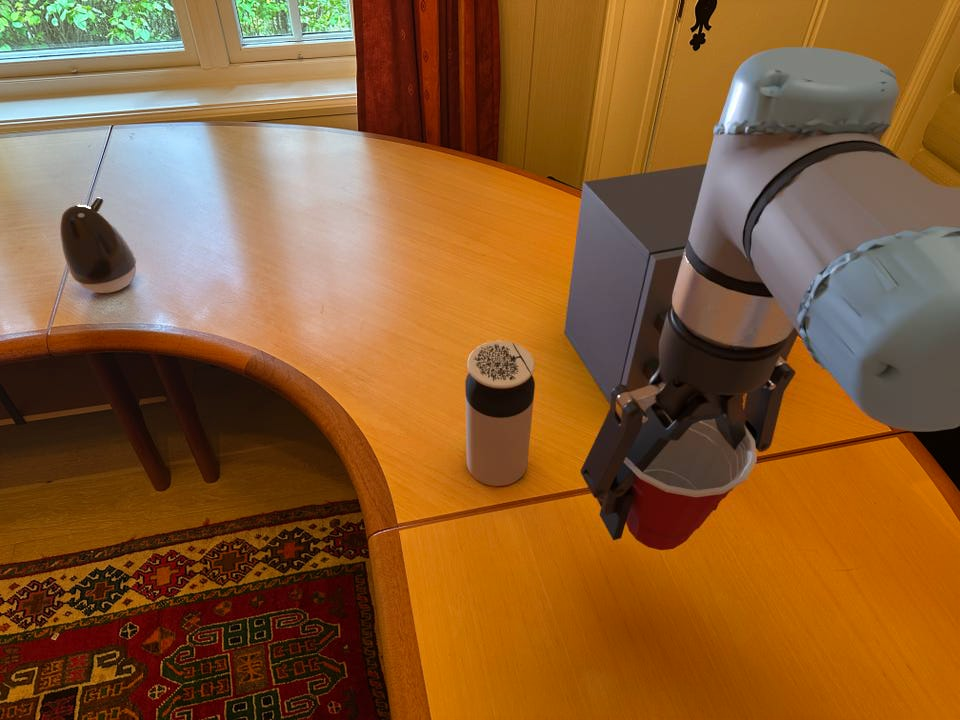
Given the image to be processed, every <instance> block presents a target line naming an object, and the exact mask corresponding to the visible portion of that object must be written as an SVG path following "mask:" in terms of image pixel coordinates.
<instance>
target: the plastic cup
mask: <svg viewBox="0 0 960 720" xmlns="http://www.w3.org/2000/svg"><path fill="white" fill-rule="evenodd" d="M664 413H665V412H664ZM665 414H666V413H665ZM666 416H667V414H666ZM667 417H668V416H667ZM668 418H669V417H668ZM669 420H670V421H671V422H672V423H673V421H672V420H671V419H670V418H669ZM744 427H745V431H746V435H745V436H744V438H743V440H742V441H741V442H740V444H739V445H738V446H737V448H736V449H735V450H734V449H733V448H732V447H731V446H730V444H729V443H728V442H727V441H726V440H725V438H724V437H723V436H722V434H721V433H720V432H719V430H718V429H717V425H716V422H715V419H711V420H701V421H699V422H697V423H694V424H692V425H691V426H690V427H689V429H688V430H687V431H686V432H685V433H684V434H683V436H682V437H681V438H680V439H679V440H677V441H674V440H670V441H669V443H668V444H667V445H666V446H665V447H664V448H663V450H662V451H661V452H660V453H659V454H658V455H657V457H656V458H655V459H654V460H653V461H652V462H651V464H650V465H649V466H648V467H647V468H646V469H645V471H644V472H643V473H642V472H641V471H640V470H639V469H638V468H637V467H635V465H634V464H633V463H632V462H631V461H630V460H629V459H628V458H627V457H626V458H625V460H624V463H625V464H626V465H627V466H628V467H629V468H630V469H631V470H632V471H633V472H634V473H635V474H636V481H635V482H634V483H633V485H632V486H631V487H630V488H631V490H632V491H633V493H634V497H633V500H632V504H631V507H630V510H629V514H628V517H627V520H626V524H625V525H626V527H627V530H628V531H629V533H630V534H631V535H632V537H633V538H634V539H635V540H636V541H637V542H639V543H640V544H642V545H644V546H646V547H647V548H650V549H654V550H658V551H667V550H673V549H676V548H677V547H679V546H681V545H682V544H684V543H686V542H687V541H688V540H689V539H690V537H691V536H693V534H694V532H696V531H697V530H699V528H700V527H701V526H702V525H703V524H704V522H705V521H706V520H707V519H708V518H709V517H710V516H711V514H712V512H714V511H715V510H714V509H715V508H716V506H717V505H718V506H719V504H720V503H721V502H722V500H724V499H725V498H727V496H728V495H729V494H730V492H732V491H733V489H734V488H736V487H738V486H740V485H741V484H743V483H744V482H745V481H747V480H748V478H749V476H750V474H751V472H752V470H753V469H754V467H755V466H756V463H757V461H758V458H757V449H756V446H755V440H754V438H753V437H752V435H751V434H750V432H749V431H748V429H747V428H746V426H745V425H744Z"/></svg>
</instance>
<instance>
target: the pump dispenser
mask: <svg viewBox="0 0 960 720" xmlns="http://www.w3.org/2000/svg"><path fill="white" fill-rule="evenodd" d="M103 199H104V198H102V197H96V198H95V200H94V201H93V202H92V204H91V205H90V206H87V205H83V204H81V205H80V204H77V205H76V204H75V205H72V206H70V207H68V208H67V209H66V210H64V212H63V213H62V216H61V219H60V224H59V225H60V226H59V231H60V243H61V249H62V254H63V257H64V260H65V263H66V265H67V268H68V271H69V273H70V275H71V277H72V278H73V280H74V281H76V282H78V283H79V284H80V286H82V287H84V288H85V289H87V290H88V291H91V292H94V293H100V294H109V293H113V292H118V291H120V290H122V289H124V288H125V287H127V286H129V284H131V283H132V281H133V280H134V278H135V276H136V271H137V265H136V264H137V258H136V256H135V253H134V252H133V250H132V248H131V247H130V245H129V244H128V242H127V241H126V240H125V238H124V237H123V236H122V234H121V233H120V232H119V230H118V229H117V228H116V227H115V226H114V225H113V224H112V223H111V222H110V221H109V220H108V219H107V218H106V217H105V216H104V215H103V214H101V213H100V209H101V208H102V205H103V204H104V200H103Z"/></svg>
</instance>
